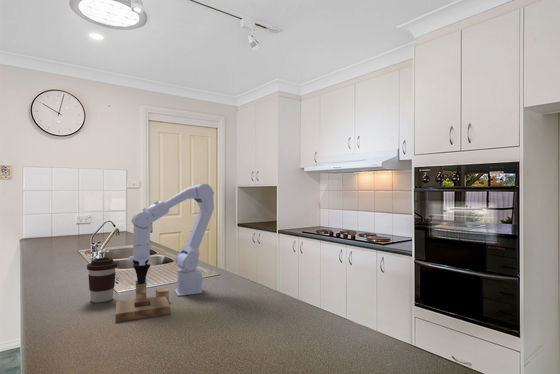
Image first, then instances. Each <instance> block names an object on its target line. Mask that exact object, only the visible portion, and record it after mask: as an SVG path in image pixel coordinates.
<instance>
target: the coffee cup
mask: <svg viewBox="0 0 560 374" xmlns="http://www.w3.org/2000/svg"><path fill="white" fill-rule="evenodd" d="M117 267H118V261H115V260H114V259H113V258H112V257H98V258H94V259H92V260H91V262H90V263H88V264H87V265H86V270H87V271H88V287H89V295H90V301H91V302H92V303H98V304H99V303H100V304H101V303H105V302H109V301H111V300H112V299H113V298H114V289H115V285H116V284H115V283H116V273H117V272H116V268H117Z"/></svg>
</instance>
